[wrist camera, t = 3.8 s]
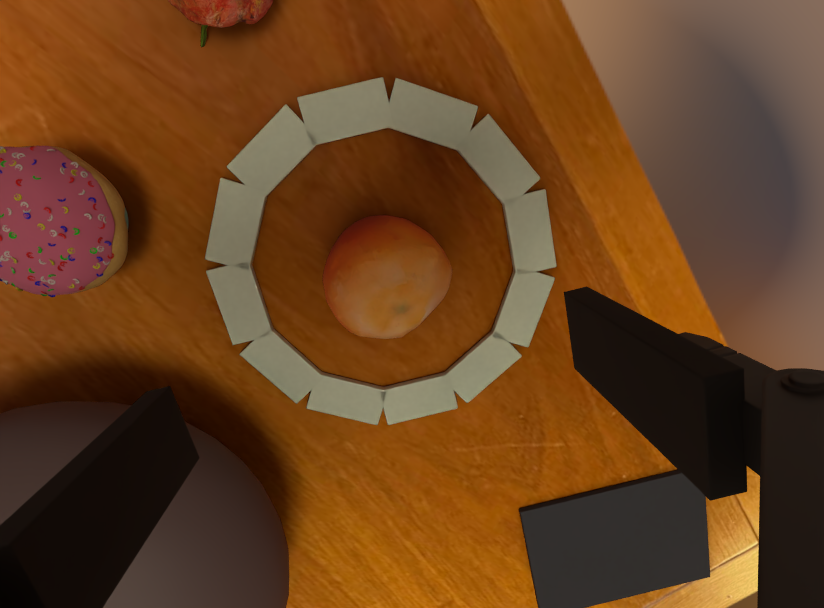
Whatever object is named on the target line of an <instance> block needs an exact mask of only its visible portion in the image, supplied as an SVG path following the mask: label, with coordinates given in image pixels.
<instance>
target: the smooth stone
mask: <svg viewBox="0 0 824 608" xmlns="http://www.w3.org/2000/svg"><path fill="white" fill-rule="evenodd" d="M130 406H131V405H126V404H121V403H115V402H85V401H67V402H52V403H45V404H39V405H33V406H26V407H20V408H15V409H12V410H9V411H6V412H4V413H1V414H0V525H1V524H2V523H3V522H4V521H5V520H6V519H8V518H9V517H10V516H11V515H12V514H13V513H14V512H15V511H16V510H17V509H19V508H20V507H21V506H22V505H23V504H24V503H25V502H26V501H27V500H28V499H29V498H31V497H32V496H33V495H34V494H35V493H36V492H37V491H38V490H39V489H40V488H42V487H43V486H44V485H45V484H46V483H47V482H48V481H49V480H50V479H51V478H53V477H54V476H55V475H56V474H57V473H58V472H59V471H60V470H61V469H62V468H63V467H65V466H66V465H67V464H68V463H69V462H70V461H71V460H72V459H73V458H74V457H76V456H77V455H78V454H79V453H80V452H81V451H82V450H83V449H84V448H85V447H87V446H88V445H89V444H90V443H91V442H92V441H93V440H94V439H95V438H96V437H97V436H99V435H100V434H101V433H102V432H103V431H104V430H105V429H106V428H107V427H108V426H110V425H111V424H112V423H113V422H114V421H115V420H116V419H117V418H118V417H119V416H121V415H122V414H123V413H124V412H125V411H126V410H127V409H128V408H129V407H130ZM185 423H186V426H187V428H188V431H189V433H190V436H191V438H192V440H193V443H194V445H195V448H196V450H197V452H198V455H199V457H200V458H199V460H198V461H197V463H196V464H195V466H194V467H193V469H192V471H191V472H190V474H189V475H188V477H187V478H186V480H185V481H184V483H183V484H182V486H181V488H180V489H179V491H178V492H177V494H176V495H175V497H174V498H173V500H172V501H171V503H170V505H169V506H168V508H167V509H166V511H165V512H164V514H163V515H162V517H161V519H160V520H159V522H158V523H157V525H156V526H155V528H154V529H153V531H152V532H151V534H150V536H149V537H148V539H147V540H146V542H145V543H144V545H143V546H142V548H141V549H140V551H139V553H138V554H137V556H136V557H135V559H134V560H133V562H132V563H131V565H130V566H129V568H128V570H127V571H126V573H125V574H124V576H123V577H122V579H121V580H120V582H119V583H118V585H117V587H116V588H115V590H114V591H113V593H112V594H111V596H110V597H109V599H108V600H107V602H106V604H105V605H104V607H103V608H286V604H287V600H288V596H289V552H288V545H287V542H286V538H285V535H284V531H283V527H282V524H281V520H280V518H279V516H278V514H277V512H276V510H275V508H274V506H273V504H272V502H271V500H270V498H269V496H268V495H267V493H266V491H265V489H264V487H263V485H262V484H261V482H260V481H259V480H258V479H257V477H256V476H255V475H254V474H253V473H252V472H251V470H250V469H249V468H248V467H247V466H246V464H245V463H244V462H243V461H242V460H241V459H240V458H239V457H238V456H236V455H235V454H234V453H233V452H232V451H230V450H229V449H228V448H227V447H225V446H224V445H223V444H222V443H220V442H219V441H218V440H217V439H215V438H214V437H212V436H210V435H208V434H207V433H205V432H203V431H201V430H199V429H198V428H196V427H194V426H192V425H190V424H189V423H187V422H185Z"/></svg>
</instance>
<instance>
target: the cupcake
mask: <svg viewBox="0 0 824 608" xmlns="http://www.w3.org/2000/svg"><path fill="white" fill-rule="evenodd" d="M128 225H129V221H128V214H127V211H126V208H125V205H124V202H123V200H122V198H121V196H120V195H119V193H118V191H117V190H116V188H115V187H114V186H113V185H112V184H111V183H110V182H109V180H108V179H107V178H106V177H105V176H103V175H102V174H101V173H100V172H99V171H97V170H96V169H95V168H93V167H92V166H91V165H89V164H88V163H87V162H85V161H84V160H82V159H81V158H79V157H78V156H76V155H75V154H74V153H72V152H70V151H69V150H67V149H64V148H60V147H53V146H26V147H1V146H0V281H3V282H5V283H6V284H8V283H9V284H11V285H13V286H15V287H16V289H17V290H18V291H23V290H25V291H28V292H31V293H34V294H40V295H43V296H47V295H49V296H50V297H55V295H60V294H72V293H77V292H81V291H85V290H88V289H91V288H94V287H97V286H99V285H101V284H103V283H104V282H106V281H107V280H108V279H109V278H110V277H111V276H112V275H113V274H114V273H116V272H117V271H118V270H119V269H120V267H121V266H122V265H123V263H124V261H125V259H126V255H127V251H128ZM1 279H2V280H1ZM18 288H19V289H20V290H19V289H18ZM51 295H52V296H51Z"/></svg>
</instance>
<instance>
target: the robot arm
mask: <svg viewBox="0 0 824 608" xmlns="http://www.w3.org/2000/svg"><path fill="white" fill-rule="evenodd" d="M564 296H565V303H566V311H567V318H568V325H569V332H570V340H571V347H572V354H573V361H574V368H575V369H576V370H577V371H578V372H579V373H580V374H581V375H582V376H583V377H584V378H585V379H586V380H587V381H588V382H589V383H590V384H591V385H592V386H593V387H594V388H595V389H596V390H597V391H598V392H599V393H600V394H601V395H602V396H603V397H604V398H605V399H607V400H608V401H609V402H610V403H611V404H612V405H613V406H614V407H615V408H616V409H617V410H618V411H619V412H620V413H621V414H622V415H623V416H624V417H625V418H626V419H627V420H628V421H629V422H630V423H631V424H632V425H633V426H634V427H635V428H636V429H637V430H638V431H639V432H640V433H641V434H642V435H643V436H644V437H645V438H647V439H648V440H649V441H650V442H651V443H652V444H653V445H654V446H655V447H656V448H657V449H658V450H659V451H660V452H661V453H662V454H663V455H664V456H665V457H666V458H667V459H668V460H669V461H670V462H671V463H672V464H673V465H674V466H675V467H676V468H677V469H678V470H679V471H680V472H681V473H682V474H683V475H684V476H686V477H687V478H688V479H689V480H690V481H691V482H692V483H693V484H694V485H695V486H696V487H697V488H698V489H699V490H700V491H701V492H702V493H703V494H704V495H705V496H706V497H707V498H708V499H709V500H714V499H718V498H723V497H727V496H731V495H735V494H739V493H743V492H747V469H746V465H747V466H748V467H749V468H751V469H752V470H753V471H754V472H756V473H757V474H758V475H759V476H760V513H759V561H758V608H824V371H821V370H813V369H784V370H778V371H776V370H774V369H772V368H770V367H768V366H766V365H764V364H762V363H759V362H758V361H755V360H753V359H751V358H749V357H747V356H745V355H743V354H741V353H738V354H737V351H735V350H732V349H731V348H729V347H727V346H726V347H724V346H723V345H722V344H720V343H718V342H716V341H714V340H712V339H710V338H708V337H704V336H700V335H695V334H691V333H687V332H685V333H681V334H677V333H675V332H673V331H671V330H669V329H667V328H665V327H663V326H661V325H659V324H657V323H656V322H654V321H652V320H650V319H648V318H646V317H644V316H642V315H640V314H638V313H636V312H634V311H633V310H631V309H629V308H627V307H625V306H623V305H621V304H619V303H617V302H615V301H613V300H611V299H610V298H608V297H606V296H604V295H602V294H600V293H598V292H596V291H594V290H592V289H590V288H588V287H583V288H579V289H575V290H571V291H567V292H564ZM199 458H200V457H199V455H198V452H197V450H196V448H195V445H194V443H193V440H192V438H191V436H190V433H189V431H188V428H187V426H186V423H185V421H184V419H183V416H182V414H181V411H180V409H179V407H178V404H177V402H176V399H175V397H174V394H173V392H172V390H171V387H170V386H168V387H163V388H159V389H155V390H151V391H147V392H146V393H145V394H144V395H142V396H141V397H140V398H139V399H138V400H137V401H136V402H135V403H134V404H133V405H131V406H130V407H129V408H128V409H127V410H126V411H125V412H124V413H123V414H122V415H121V416H119V417H118V418H117V419H116V420H115V421H114V422H113V423H112V424H111V425H110V426H108V427H107V428H106V429H105V430H104V431H103V432H102V433H101V434H100V435H99V436H97V437H96V438H95V439H94V440H93V441H92V442H91V443H90V444H89V445H88V446H87V447H85V448H84V449H83V450H82V451H81V452H80V453H79V454H78V455H77V456H76V457H74V458H73V459H72V460H71V461H70V462H69V463H68V464H67V465H66V466H65V467H63V468H62V469H61V470H60V471H59V472H58V473H57V474H56V475H55V476H54V477H53V478H51V479H50V480H49V481H48V482H47V483H46V484H45V485H44V486H43V487H42V488H40V489H39V490H38V491H37V492H36V493H35V494H34V495H33V496H32V497H31V498H29V499H28V500H27V501H26V502H25V503H24V504H23V505H22V506H21V507H20V508H19V509H17V510H16V511H15V512H14V513H13V514H12V515H11V516H10V517H9V518H8V519H6V520H5V521H4V522H3V523H2V524H1V525H0V608H103V607H104V605H105V604H106V602H107V600H108V599H109V597H110V596H111V594H112V593H113V591H114V590H115V588H116V587H117V585H118V583H119V582H120V580H121V579H122V577H123V576H124V574H125V573H126V571H127V570H128V568H129V566H130V565H131V563H132V562H133V560H134V559H135V557H136V556H137V554H138V553H139V551H140V549H141V548H142V546H143V545H144V543H145V542H146V540H147V539H148V537H149V536H150V534H151V532H152V531H153V529H154V528H155V526H156V525H157V523H158V522H159V520H160V519H161V517H162V515H163V514H164V512H165V511H166V509H167V508H168V506H169V505H170V503H171V501H172V500H173V498H174V497H175V495H176V494H177V492H178V491H179V489H180V488H181V486H182V484H183V483H184V481H185V480H186V478H187V477H188V475H189V474H190V472H191V471H192V469H193V467H194V466H195V464H196V463H197V461H198V460H199Z"/></svg>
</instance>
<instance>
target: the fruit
mask: <svg viewBox="0 0 824 608" xmlns="http://www.w3.org/2000/svg"><path fill="white" fill-rule="evenodd" d="M451 276H452V268H451V264H450V262H449V260H448V258H447V256H446V254H445V252H444V250H443V249H442V248H441V246H440V245H439V244H438V242H437V241H436V240H435V239H434V238H433V236H432V235H431V234H430V233H428V232H427V231H425V230H424V229H422V228H421V227H419V226H417V225H416V224H414V223H412V222H411V221H409V220H407V219H404V218H399V217H394V216H387V215H376V216H369V217H365V218H362V219H360V220H358V221H356V222H355V223H353V224H352V225H351V226H349V227H348V228H347V229H345V230H344V231H343V233H342V234H341V235H340V236H338V239H337V241H336V242H335V244H334V245H333V247H332V249H331V251H330V253H329V255H328V258H327V261H326V264H325V268H324V273H323V285H324V290H325V295H326V301H327V303H328V305H329V306H330V308H331V310H332V312H333V314H334V315H335V317H336V318H337V320H338V321H339V322H340V323H341V324H342V325H343V326H344V327H345V328H346V329H347V330H348V331H349V332H351V333H353V334H355V335H357V336H362V337H372V338H381V339H391V338H400V337H403V336H404V335H405V334H407V333H408V332H410V331H411V330H413V329H415V328H417V327H418V326H419V325H420V324H421V322H422V321H423V320H424V319H425V318H426V317H427V316H428V315H429V314H430V313H431V312H432V311H433V310H434V309H435V308H436V307H437V306H438V304H439V303H440V302H441V301H442V300H443V298H444V296H445V295H446V293H447V291H448V289H449V285H450V280H451Z"/></svg>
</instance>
